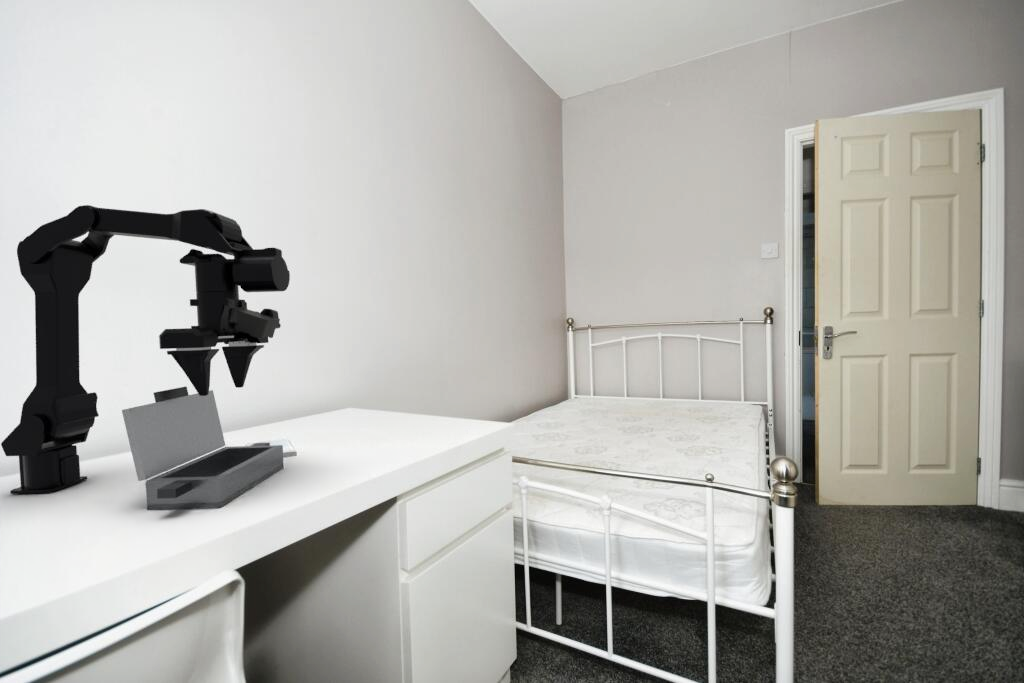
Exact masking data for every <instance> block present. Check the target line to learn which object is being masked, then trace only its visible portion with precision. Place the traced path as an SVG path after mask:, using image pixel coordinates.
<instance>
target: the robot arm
mask: <svg viewBox="0 0 1024 683" xmlns="http://www.w3.org/2000/svg"><path fill="white" fill-rule="evenodd" d="M87 233H88V234H87ZM86 234H87V236H86V237H84V238H83V239H82V240H81V241H80V240H79V241H78V240H75V239H77V238H80V237H82V236H84V235H86ZM114 236H125V237H133V238H134V237H135V238H142V239H143V238H144V239H145V238H146V239H153V240H155V239H156V240H165V241H178V242H181V243H184V244H187V245H188V244H189V245H192V246H196V247H200V248H203V249H208V250H211V251H215V252H217V253H204V252H203V251H202V250H198V249H194V248H191V249H190V250H189V252H188V253H187V254H185V255H184V256H182V257H181V258H180V259H179V263H180V264H183V265H188V266H192V267H194V275H195V276H194V277H195V292H196V293H195V294H196V298H195V299H194V298H193V299H191V298H189V306H190V307H196V312H197V313H196V316H197V325H191V327H190V328H165V329H164V330H163V331H162V332H161V333H160V334H159V336H158V339H159V340H158V341H159V349H160V350H163V349H165V350H167V351H166V354H167V355H168V356H169V355H171V356H172V358H173V359H174V361H175V362H176V364H178V366H179V367H180V368H181V370H182V372H184V374H185V376H186V377H187V378H188V380H189V381H190V382H191V384H192V386H193V388H194V389H195V390H196V392H197V393H198V394H199V395H200V396H207V395H208V393H209V391H210V383H211V362H212V359H213V358H214V357H215V356H216V354H217V353H218V352H219V351H220V348H213V347H216V346H217V345H218V344H220V343H223V344H224V345H226V346H221V349H222V351H223V355H224V358H225V360H226V364H227V368H228V370H229V373H230V376H231V379H232V382H233V383H234V386H235V388H243V387H244V386H245V382H246V379H247V375H248V371H249V368H250V364H251V362H252V360H253V357H254V355H255V354H257V352H259V350H261V349H263V348H265V345H264V344H265V343H267V344H269V338H270V339H272V338H273V337H274V334H275V332H276V331H275V330H276V329H280V328H281V326H282V325H281V323H280V320H281V319H280V318H279V312H278V310H275V309H271V308H263V309H262V310H261V311H260V312H259V311H254V310H251V309H248V305H247V304H248V303H247V301H246V300H245V299H240V296H239V295H240V294H239V292H240V291H239V288H240V289H241V290H243V292H246V293H266V292H267V293H269V292H271V293H272V292H274V293H275V292H285V291H286V290H287V289H288V287H289V285H290V279H291V278H290V276H291V275H290V270H289V269H288V265H287V263H286V260H285V259H284V257H283V253H282V252H283V251H282V249H280V248H276V247H265V248H259V249H256V248H255V249H253V247H252V246H251V245H250V244H249V242H248V241H247V239H246V238H245V237H244V236H243V232H242V229H241V226H240V224H239V223H238V222H237V221H236V220H234V219H232V218H230V217H229V216H224V215H222V214H220V213H217V212H215V211H212V210H209V209H205V208H204V209H202V208H199V209H188V210H185V209H184V210H180V211H178V212H175V213H159V212H158V213H156V212H148V211H146V212H145V211H137V210H127V209H117V208H116V209H115V208H104V207H97V206H93V205H90V204H87V205H86V204H85V205H78V206H77V207H75V208H74V209H73V210H72V211H71V212H69V213H68V214H67V215H64V216H61V217H59V218H57V219H55V220H54V219H53V220H52V221H49V222H47V223H44V224H42V225H40V226H39V227H38V228H37V229H36V230H34V231H33V232H32V233H31V234H30V235H27V236H26V237H25V238H24V239H23V240H20V241H19V242H18V245H17V248H16V255H17V260H18V266H19V272H20V274H21V276H22V277H23V279H24V280H25V282H27V285H28V286H30V288H31V289H32V291H33V293H34V307H35V308H34V309H35V318H34V319H35V323H34V324H35V375H36V376H35V377H36V378H35V379H36V380H35V381H36V382H35V386H34V387H33V389H32V391H31V392H30V393H29V395H28V396H27V397H26V400H25V401H24V402H23V403H22V408H21V415H20V421H19V424H17V426H16V427H15V428H14V429H13V430H12V431H11V432H9V434H8V435H7V437H6V438H5V439H4V440H3V441H2V442H1V443H0V446H1V448H2V450H3V452H4V454H5V456H6V457H18V462H19V479H20V487H16V488H13V489H11V490H10V491H9V492H10V494H38V493H39V494H40V493H41V494H42V493H43V494H45V493H52V492H56V491H59V490H61V489H64V488H68V487H69V486H72V485H75V484H78V483H81V482H83V481H86V480H87V479H88V476H86V475H85V476H83V475H81V467H80V455H79V454H78V450H77V445H76V444H80V443H81V444H82V443H85V442H87V439H88V437H89V436H88V435H89V433H90V428H92V427H93V426H94V424H95V419H96V418H97V417H99V412H98V409H97V404H98V402H97V401H98V398H99V397H98V395H97V392H94V391H93V392H88V391H87V390H86V389H85V388H84V386H83V385H82V384H81V381H80V315H79V314H80V313H79V312H80V311H79V309H80V308H79V307H80V306H79V302H80V300H79V296H80V293H81V292H82V290H83V289H85V287H86V285H87V283H88V282H89V281H90V280H91V275H92V270H93V263H95V262H96V261H97V260H98V259H99V258H100V257H101V256H103V255H104V254H105V253H106V251H107V247H108V245H109V241H110V239H112V238H113V237H114ZM220 253H221V254H220ZM222 254H224V255H222ZM225 255H229V256H233V258H226V257H225ZM168 349H169V350H168ZM170 349H174V350H170ZM175 349H176V350H175Z"/></svg>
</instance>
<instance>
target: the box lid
mask: <svg viewBox="0 0 1024 683" xmlns="http://www.w3.org/2000/svg"><path fill="white" fill-rule="evenodd" d="M153 396H154V401H155V402H153V403H148V404H144V405H138V406H135V407H130V408H129V407H128V408H125V409H121V413H122V417H123V421H124V425H125V429H126V434H127V438H128V442H129V446H130V447H129V448H130V452H131V455H132V460H133V465H134V467H135V473H136V477H137V480H138V482H141V481H147V480H149V479H152V478H154V477H156V476H159V475H161V474H163V473H166V472H168V471H170V470H173V469H175V468H177V467H180V466H182V465H184V464H187V463H189V462H191V461H194V460H196V459H198V458H201V457H203V456H205V455H208V454H210V453H212V452H215V451H217V450H219V449H222V448H224V447H226V442H225V438H224V433H223V430H222V424H221V419H220V416H219V412H218V407H217V402H216V399H215V394H214V389H211V390H209V393H208V395H207V396H200V395H199V394H198V392H197V393H193V394H189V392H188V387H187V386H182V387H177V388H171V389H170V388H169V389H165V390H160V391H155V392H153Z"/></svg>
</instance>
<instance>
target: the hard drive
mask: <svg viewBox="0 0 1024 683" xmlns="http://www.w3.org/2000/svg"><path fill="white" fill-rule="evenodd" d="M255 443H270V446H273V445H283V459H284V458H290V457H296V456H298V455H297V454H298V453H297V450H296V449H295V447H294V445H293V443H292V442H291V440H290V439H289V438H280V439H273V440H266V441H259V442H258V441H257V442H251V443H247V444H244V446H251V445H253V444H255Z"/></svg>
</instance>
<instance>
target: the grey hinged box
mask: <svg viewBox="0 0 1024 683" xmlns="http://www.w3.org/2000/svg"><path fill="white" fill-rule="evenodd" d="M254 443H255V444H253V445H251V446H245V445H243V446H224V447H221V448H219V449H216V450H214V451H212V452H209V453H207V454H205V455H202V456H200V457H198V458H195V459H193V460H191V461H188V462H186V463H184V464H181V465H179V466H177V467H174V468H172V469H170V470H167V471H165V472H162V473H160V474H158V475H155V476H153V477H151V478H148V479H146V480H145V493H146V496H145V497H146V510H147V511H151V510H152V511H154V510H155V511H156V510H157V511H158V510H161V511H162V510H191V509H192V510H193V509H194V510H195V509H196V510H197V509H222V507H224V506H225V505H227V504H229V503H230V502H232V501H233V500H235V499H236V498H238V497H240V496H241V495H244V494H245V493H246V492H248V491H249V490H251V489H253V488H254V487H256V486H257V485H259V484H260V483H262V482H263V481H265V480H266V479H268V478H269V477H271V476H273V475H274V474H276V473H278V472H279V471H281V470H282V469H284V458H283V445H273V446H270V443H257V442H254Z"/></svg>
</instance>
